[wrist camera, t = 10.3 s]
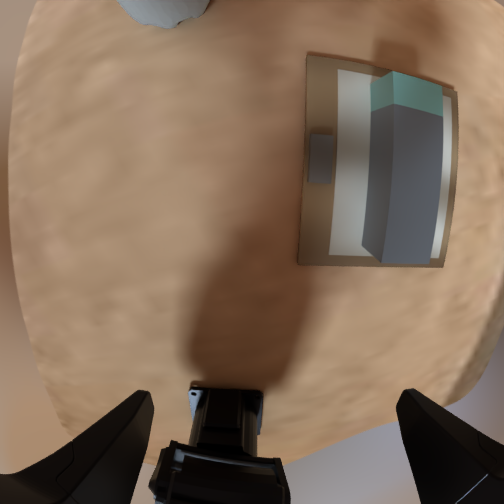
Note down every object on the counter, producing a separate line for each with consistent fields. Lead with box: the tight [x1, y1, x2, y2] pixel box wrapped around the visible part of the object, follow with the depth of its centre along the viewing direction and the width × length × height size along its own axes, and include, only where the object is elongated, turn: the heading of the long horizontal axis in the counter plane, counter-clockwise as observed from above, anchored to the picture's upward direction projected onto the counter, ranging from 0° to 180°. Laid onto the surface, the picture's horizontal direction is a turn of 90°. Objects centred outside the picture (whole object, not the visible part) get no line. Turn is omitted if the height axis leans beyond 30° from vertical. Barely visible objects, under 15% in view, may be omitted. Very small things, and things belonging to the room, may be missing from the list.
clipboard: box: [297, 55, 459, 268], centre depth 17 cm, size 14×12×1 cm
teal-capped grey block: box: [361, 71, 443, 264], centre depth 15 cm, size 11×4×4 cm, turn 178°
